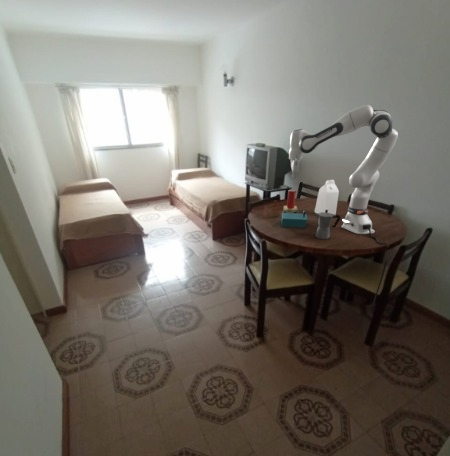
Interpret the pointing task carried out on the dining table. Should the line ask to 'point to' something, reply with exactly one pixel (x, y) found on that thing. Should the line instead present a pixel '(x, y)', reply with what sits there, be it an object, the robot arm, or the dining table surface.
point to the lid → (295, 216)
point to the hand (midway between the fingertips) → (293, 177)
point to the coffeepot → (325, 224)
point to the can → (291, 199)
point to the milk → (327, 198)
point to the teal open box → (293, 223)
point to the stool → (290, 209)
